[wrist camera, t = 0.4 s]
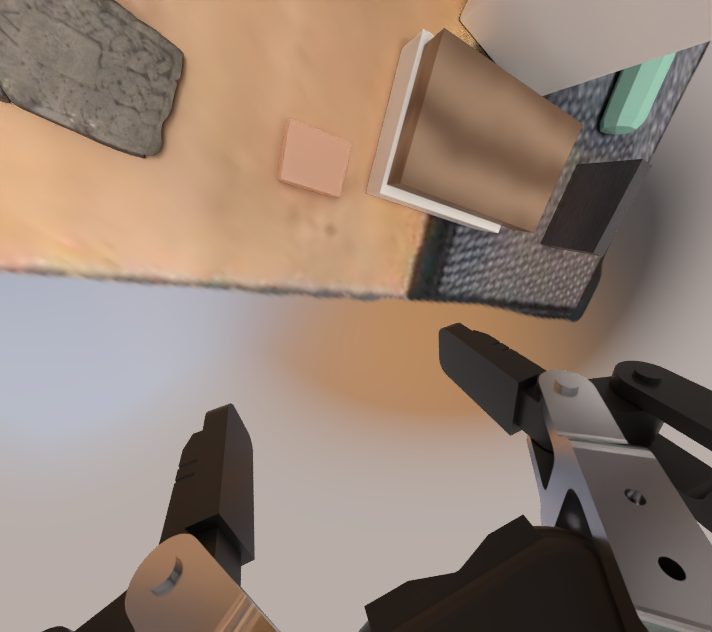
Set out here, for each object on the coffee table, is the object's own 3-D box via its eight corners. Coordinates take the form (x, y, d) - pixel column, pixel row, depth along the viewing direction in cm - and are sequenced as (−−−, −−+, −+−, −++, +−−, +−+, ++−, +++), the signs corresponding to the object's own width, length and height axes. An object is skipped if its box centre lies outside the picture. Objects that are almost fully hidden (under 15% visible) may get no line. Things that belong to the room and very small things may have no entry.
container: (655, 132, 36) (795, -160, 27) (612, 125, 36) (738, -172, 27) (618, 142, 42) (724, -99, 33) (580, 136, 42) (676, -108, 33)
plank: (424, 45, 25) (444, 28, 23) (556, 129, 33) (582, 124, 31) (386, 184, 29) (400, 183, 26) (514, 229, 37) (533, 232, 34)
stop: (577, 164, 41) (642, 158, 35) (586, 170, 42) (652, 165, 36) (540, 243, 45) (593, 253, 38) (549, 247, 46) (602, 256, 39)
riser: (401, 48, 28) (423, 28, 25) (518, 119, 35) (547, 111, 32) (365, 193, 32) (379, 193, 29) (476, 229, 40) (498, 233, 36)
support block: (284, 126, 27) (290, 117, 24) (340, 148, 30) (352, 142, 27) (276, 180, 29) (280, 178, 26) (330, 196, 31) (340, 197, 28)
